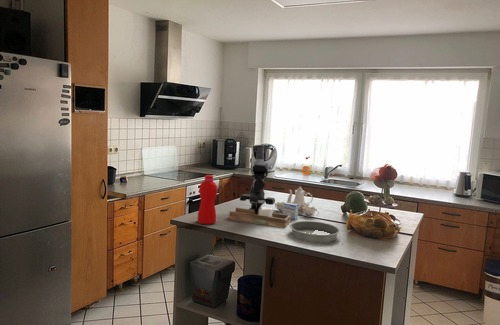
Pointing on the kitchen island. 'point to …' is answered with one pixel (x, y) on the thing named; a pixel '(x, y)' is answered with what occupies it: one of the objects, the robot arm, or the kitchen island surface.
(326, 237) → the cake pan
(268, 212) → the cream block
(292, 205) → the medicine box
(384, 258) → the kitchen island surface
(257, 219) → the light wood shallow tray
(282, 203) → the chinaware
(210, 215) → the water bottle
